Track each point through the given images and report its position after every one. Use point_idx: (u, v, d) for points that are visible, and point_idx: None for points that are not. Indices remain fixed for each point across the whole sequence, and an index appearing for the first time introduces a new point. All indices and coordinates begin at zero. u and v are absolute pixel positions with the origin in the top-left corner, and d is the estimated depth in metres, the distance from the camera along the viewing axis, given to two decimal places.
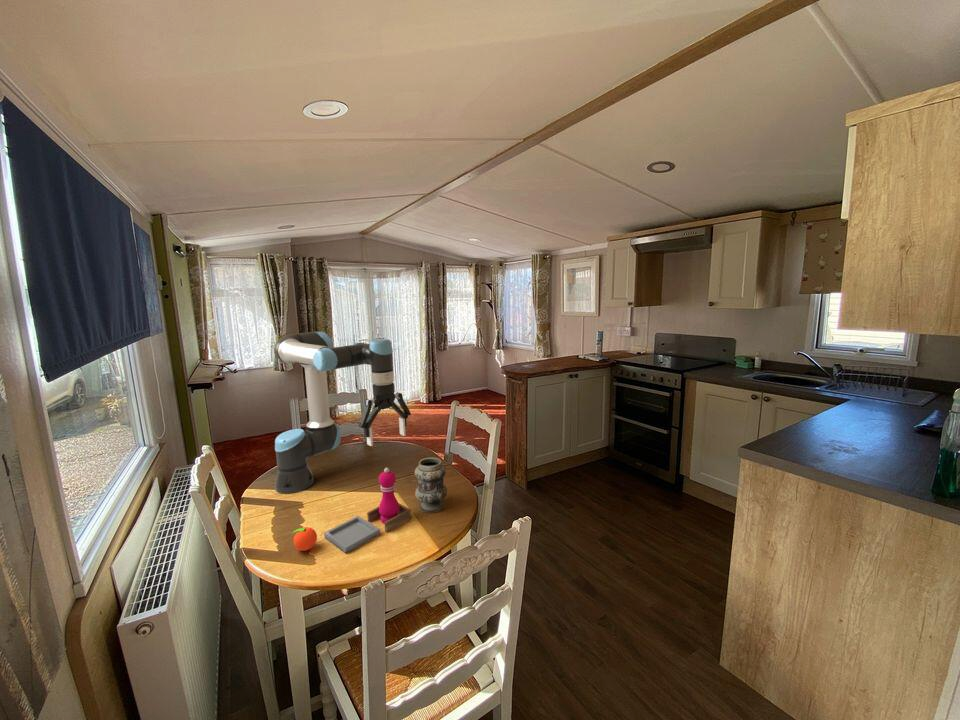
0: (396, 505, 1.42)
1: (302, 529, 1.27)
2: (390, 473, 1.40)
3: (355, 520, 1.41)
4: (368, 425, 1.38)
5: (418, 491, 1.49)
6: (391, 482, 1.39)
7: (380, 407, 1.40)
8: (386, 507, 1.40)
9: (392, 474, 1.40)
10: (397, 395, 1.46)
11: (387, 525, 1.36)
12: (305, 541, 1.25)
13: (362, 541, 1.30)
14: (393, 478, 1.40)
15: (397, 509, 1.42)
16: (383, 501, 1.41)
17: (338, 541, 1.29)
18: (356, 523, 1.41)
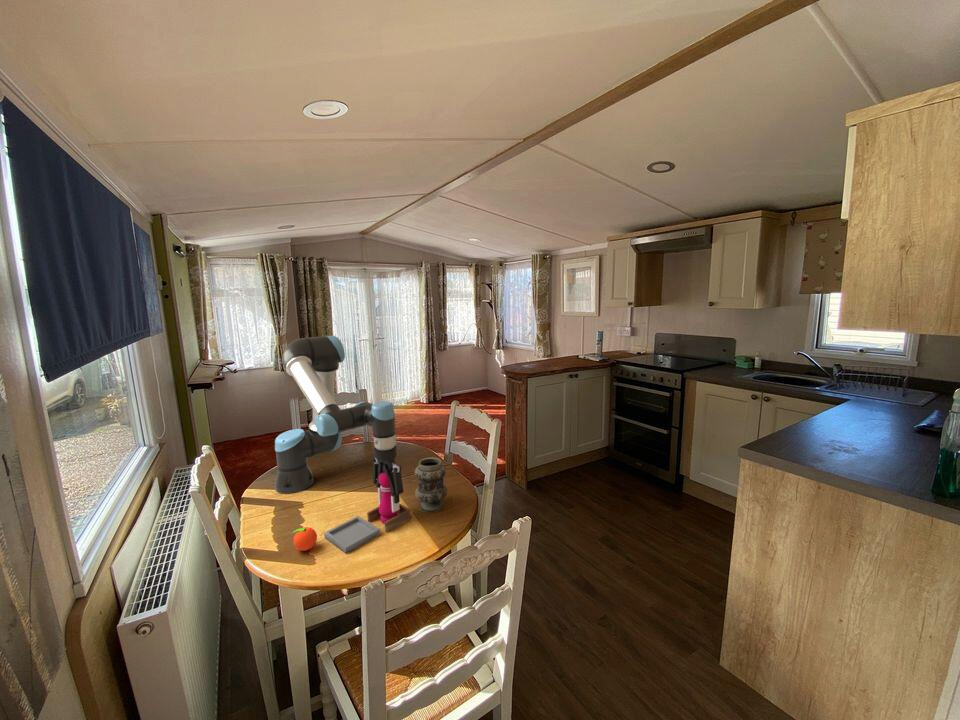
0: None
1: (302, 529, 1.27)
2: None
3: (355, 520, 1.41)
4: (376, 484, 1.44)
5: (418, 491, 1.49)
6: None
7: (379, 469, 1.41)
8: (385, 507, 1.40)
9: None
10: (394, 467, 1.37)
11: (387, 525, 1.36)
12: (305, 541, 1.25)
13: (362, 541, 1.30)
14: None
15: None
16: (383, 501, 1.41)
17: (338, 541, 1.29)
18: (356, 523, 1.41)
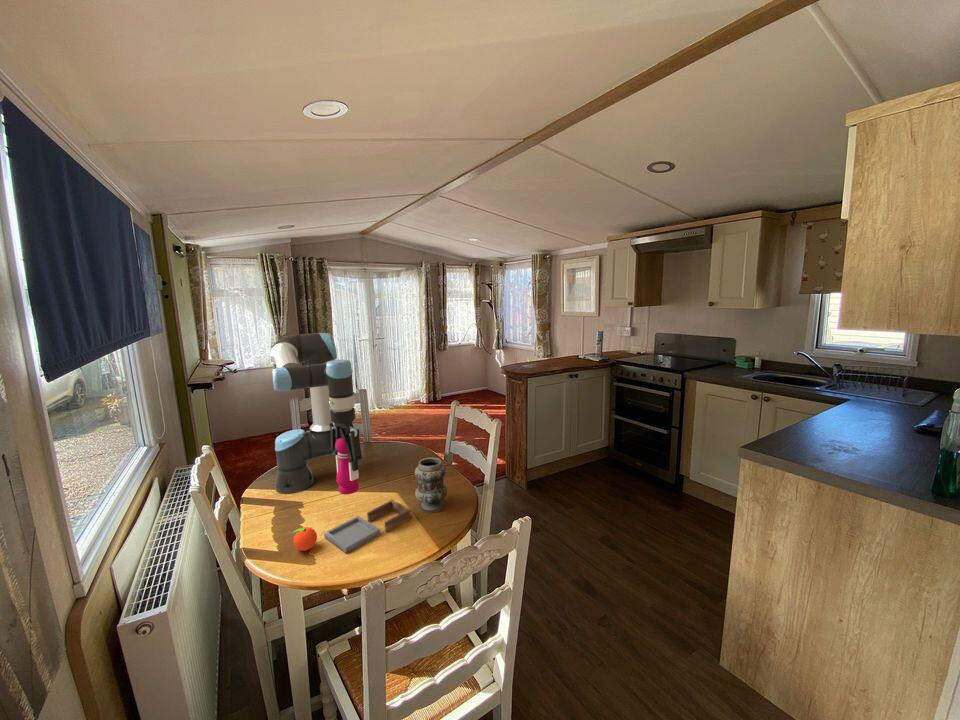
0: None
1: (302, 529, 1.27)
2: None
3: (355, 520, 1.41)
4: (334, 451, 1.32)
5: (418, 491, 1.49)
6: None
7: (336, 433, 1.29)
8: (343, 475, 1.28)
9: None
10: None
11: (387, 525, 1.36)
12: (305, 541, 1.25)
13: (362, 541, 1.30)
14: None
15: None
16: (340, 469, 1.28)
17: (338, 541, 1.29)
18: (356, 523, 1.41)
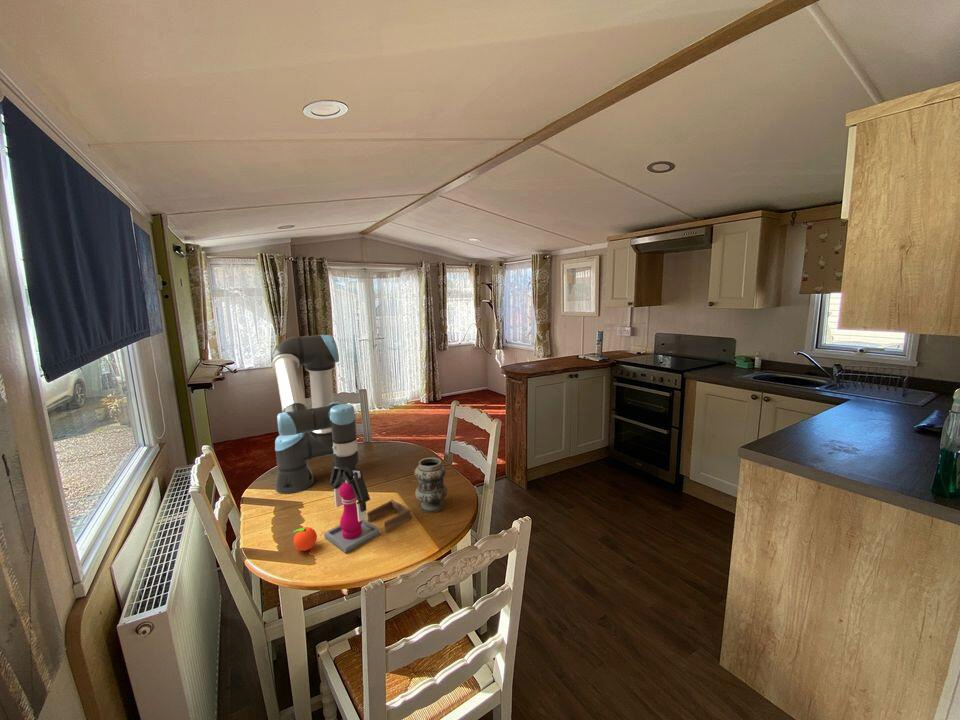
0: None
1: (302, 529, 1.27)
2: None
3: None
4: (333, 485, 1.36)
5: (418, 491, 1.49)
6: (352, 494, 1.30)
7: (338, 475, 1.31)
8: (346, 520, 1.30)
9: None
10: None
11: (387, 525, 1.36)
12: (305, 541, 1.25)
13: (362, 541, 1.30)
14: None
15: (359, 523, 1.32)
16: (344, 514, 1.31)
17: (338, 541, 1.29)
18: None
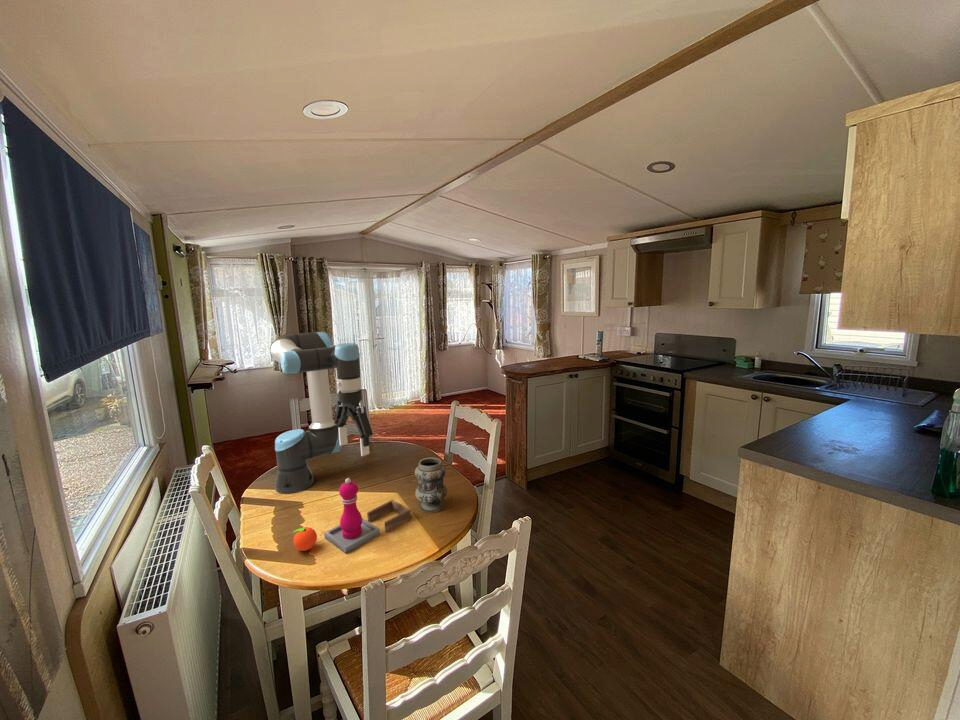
0: (358, 518, 1.32)
1: (302, 529, 1.27)
2: (351, 484, 1.31)
3: None
4: (337, 424, 1.40)
5: (418, 491, 1.49)
6: (352, 494, 1.30)
7: (342, 412, 1.36)
8: (346, 520, 1.31)
9: (354, 485, 1.31)
10: None
11: (387, 525, 1.36)
12: (305, 541, 1.25)
13: (362, 541, 1.30)
14: (354, 489, 1.30)
15: (359, 522, 1.32)
16: (344, 514, 1.31)
17: (338, 541, 1.29)
18: None
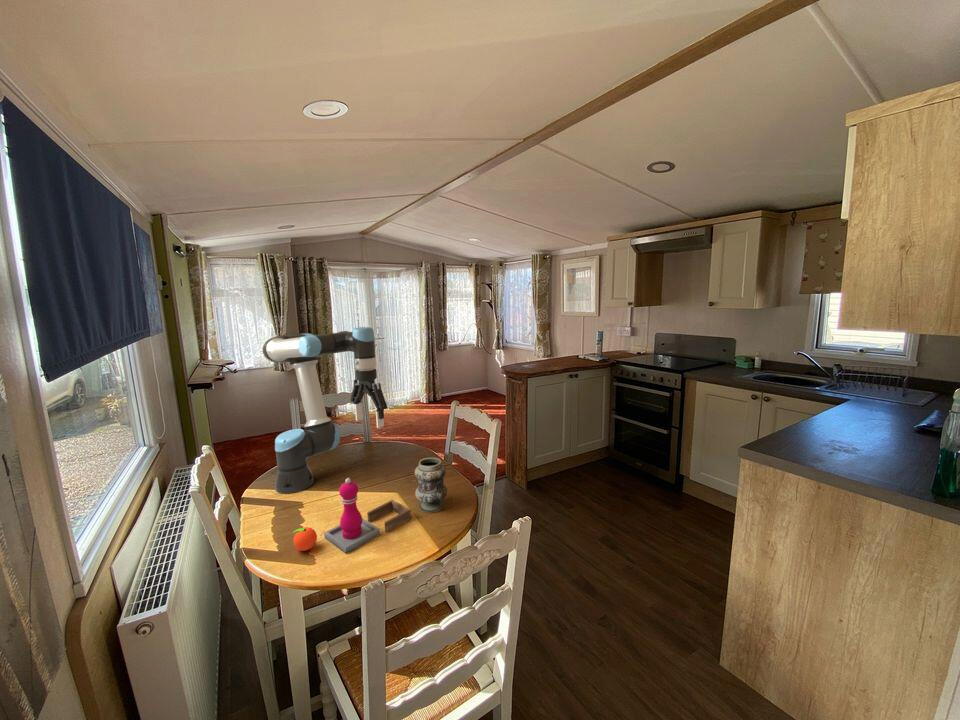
0: (358, 518, 1.32)
1: (302, 529, 1.27)
2: (351, 484, 1.31)
3: None
4: (354, 401, 1.55)
5: (418, 491, 1.49)
6: (352, 494, 1.30)
7: (359, 389, 1.51)
8: (346, 520, 1.31)
9: (354, 485, 1.31)
10: None
11: (387, 525, 1.36)
12: (305, 541, 1.25)
13: (362, 541, 1.30)
14: (354, 489, 1.30)
15: (359, 522, 1.32)
16: (344, 514, 1.31)
17: (338, 541, 1.29)
18: None
